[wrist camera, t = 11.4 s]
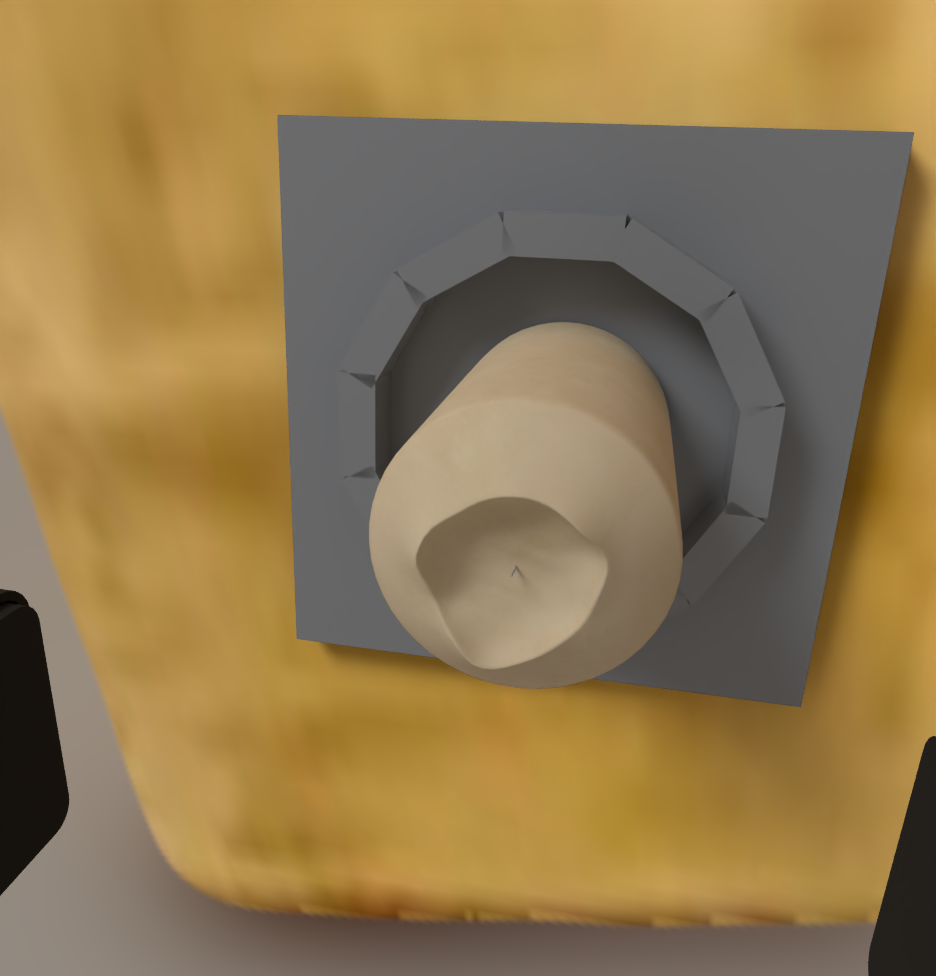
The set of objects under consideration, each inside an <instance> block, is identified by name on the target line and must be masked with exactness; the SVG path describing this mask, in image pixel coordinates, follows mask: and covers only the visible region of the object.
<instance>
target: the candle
mask: <svg viewBox="0 0 936 976" xmlns="http://www.w3.org/2000/svg"><path fill="white" fill-rule="evenodd" d="M369 546H370V554H371V561H372V565H373V569H374V573H375V576H376V579H377V582H378V584H379V587H380V589H381V592H382V594H383V596H384V598H385V600H386V602H387V603H388V605H389V607H390V609H391V611H392V612H393V614H394V615H395V616H396V618H397V619H398V621H399V622H400V623H401V625H402V626H403V627H404V628H405V629H406V630H407V632H408V633H409V634H410V635H411V636H412V637H413V638H414V639H415V640H416V641H417V642H418V643H419V644H420V645H422V646H423V647H424V648H425V649H426V650H427V651H428V652H430V653H431V654H433V655H434V656H435V657H437V658H438V659H440V660H441V661H443V662H444V663H446V664H448V665H449V666H451V667H453V668H455V669H457V670H459V671H461V672H463V673H465V674H468V675H470V676H473V677H475V678H478V679H480V680H483V681H487V682H491V683H494V684H498V685H503V686H510V687H516V688H534V689H541V688H554V687H561V686H567V685H572V684H577V683H580V682H583V681H586V680H589V679H592V678H595V677H597V676H599V675H601V674H604V673H606V672H608V671H610V670H612V669H614V668H615V667H617V666H618V665H620V664H621V663H623V662H625V661H626V660H628V659H629V658H630V657H631V656H633V655H634V654H635V653H636V652H637V651H638V650H640V649H641V648H642V647H643V646H644V645H645V644H646V643H647V642H648V640H649V639H650V638H651V637H652V636H653V635H654V634H655V632H656V631H657V629H658V628H659V627H660V625H661V624H662V622H663V621H664V619H665V618H666V616H667V614H668V611H669V609H670V607H671V605H672V603H673V601H674V598H675V595H676V592H677V589H678V585H679V582H680V576H681V570H682V563H683V541H682V530H681V521H680V511H679V502H678V492H677V483H676V473H675V463H674V454H673V444H672V435H671V426H670V418H669V412H668V406H667V402H666V399H665V395H664V392H663V389H662V387H661V385H660V382H659V380H658V378H657V377H656V375H655V373H654V372H653V370H652V368H651V367H650V366H649V364H648V363H647V362H646V361H645V359H644V358H643V357H642V356H641V355H640V354H639V353H638V352H637V351H636V350H635V349H634V348H633V347H631V346H630V345H629V344H627V343H626V342H624V341H623V340H622V339H620V338H619V337H617V336H615V335H613V334H611V333H609V332H607V331H605V330H602V329H599V328H596V327H594V326H589V325H585V324H580V323H570V322H554V323H546V324H540V325H536V326H532V327H529V328H526V329H523V330H521V331H519V332H517V333H515V334H513V335H511V336H509V337H507V338H506V339H504V340H503V341H501V342H500V343H498V344H497V345H496V346H495V347H494V348H493V349H491V350H490V351H489V352H488V353H487V354H486V355H485V356H484V357H483V358H482V359H481V360H480V361H479V362H478V363H477V364H476V365H475V367H474V368H473V369H472V370H471V371H470V372H469V373H468V374H467V375H466V377H465V378H464V379H463V380H462V381H461V382H460V383H459V384H458V385H457V387H456V388H455V389H454V390H453V391H452V392H451V393H450V394H449V395H448V396H447V398H446V399H445V400H444V401H443V402H442V403H441V404H440V405H439V406H438V408H437V409H436V410H435V411H434V412H433V413H432V414H431V415H430V416H429V418H428V419H427V420H426V421H425V422H424V423H423V424H422V425H421V426H420V428H419V429H418V430H417V431H416V432H415V433H414V434H413V435H412V436H411V438H410V439H409V440H408V441H407V442H406V443H405V444H404V445H403V447H402V448H401V449H400V450H399V451H398V452H397V453H396V455H395V456H394V458H393V459H392V461H391V462H390V464H389V465H388V467H387V468H386V470H385V472H384V474H383V476H382V478H381V481H380V483H379V485H378V487H377V490H376V494H375V497H374V500H373V503H372V509H371V515H370V521H369Z"/></svg>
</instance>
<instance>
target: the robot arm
mask: <svg viewBox="0 0 936 976" xmlns="http://www.w3.org/2000/svg"><path fill="white" fill-rule="evenodd" d="M68 807H69V793H68V787H67V782H66V775H65V770H64V763H63V757H62V751H61V746H60V740H59V734H58V728H57V722H56V716H55V710H54V704H53V698H52V692H51V686H50V680H49V674H48V669H47V663H46V657H45V652H44V645H43V639H42V633H41V627H40V621H39V618H38V614H37V613H36V611H35V610H34V609H33V608H31V607H29V605H28V602H27V600H26V599H25V598H24V596H23V595H22V594H20V593H18V592H16V591H11V590H4V589H0V895H1V894H2V893H3V892H4V891H5V890H6V889H7V887H8V886H9V885H10V884H11V883H12V882H13V881H14V880H15V879H16V878H17V876H18V875H19V874H20V873H21V872H22V871H23V870H24V869H25V868H26V866H27V865H28V864H29V863H30V862H31V861H32V860H33V859H34V858H35V856H36V855H37V854H38V853H39V852H40V851H41V849H43V848H44V846H45V845H46V844H47V843H48V842H49V841H50V840H51V839H52V838H53V836H54V835H55V834H56V833H57V832H58V830H59V829H60V828H61V826H62V824H63V822H64V820H65V817H66V815H67V812H68ZM868 971H869V972H868V973H869V976H936V736H933V737H930V738H929V739H928V741H927V742H926V744H925V747H924V749H923V753H922V757H921V760H920V764H919V768H918V771H917V775H916V779H915V782H914V786H913V790H912V794H911V797H910V801H909V805H908V808H907V812H906V816H905V819H904V823H903V827H902V831H901V834H900V838H899V842H898V845H897V849H896V853H895V856H894V860H893V864H892V868H891V871H890V875H889V879H888V882H887V886H886V890H885V893H884V897H883V901H882V905H881V908H880V912H879V916H878V919H877V923H876V927H875V931H874V934H873V938H872V942H871V946H870V951H869V961H868Z"/></svg>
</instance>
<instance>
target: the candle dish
mask: <svg viewBox="0 0 936 976" xmlns="http://www.w3.org/2000/svg"><path fill="white" fill-rule="evenodd" d="M913 135H914V132H884V131H847V130H810V129H774V128H737V127H700V126H663V125H626V124H589V123H553V122H516V121H479V120H442V119H405V118H368V117H331V116H295V115H278V142H279V169H280V196H281V224H282V251H283V278H284V305H285V332H286V359H287V386H288V413H289V440H290V467H291V494H292V521H293V548H294V575H295V602H296V629H297V639H301V640H309V641H316V642H323V643H331V644H338V645H346V646H353V647H360V648H368V649H375V650H382V651H390V652H397V653H405V654H412V655H419V656H427V657H434V658H437V657H435V656H434V655H433V654H431V653H430V652H428V651H427V650H426V649H425V648H424V647H423V646H422V645H420V644H419V643H418V642H417V641H416V640H415V639H414V638H413V637H412V636H411V635H410V634H409V633H408V632H407V630H406V629H405V628H404V627H403V626H402V625H401V623H400V622H399V621H398V619H397V618H396V616H395V615H394V614H393V612H392V611H391V609H390V607H389V605H388V603H387V602H386V600H385V598H384V596H383V594H382V592H381V589H380V587H379V584H378V582H377V579H376V576H375V573H374V569H373V565H372V561H371V554H370V546H369V521H370V515H371V509H372V503H373V500H374V497H375V494H376V490H377V487H378V485H379V483H380V481H381V478H382V476H383V474H384V472H385V470H386V468H387V467H388V465H389V464H390V462H391V461H392V459H393V458H394V456H395V455H396V453H397V452H398V451H399V450H400V449H401V448H402V447H403V445H404V444H405V443H406V442H407V441H408V440H409V439H410V438H411V436H412V435H413V434H414V433H415V432H416V431H417V430H418V429H419V428H420V426H421V425H422V424H423V423H424V422H425V421H426V420H427V419H428V418H429V416H430V415H431V414H432V413H433V412H434V411H435V410H436V409H437V408H438V406H439V405H440V404H441V403H442V402H443V401H444V400H445V399H446V398H447V396H448V395H449V394H450V393H451V392H452V391H453V390H454V389H455V388H456V387H457V385H458V384H459V383H460V382H461V381H462V380H463V379H464V378H465V377H466V375H467V374H468V373H469V372H470V371H471V370H472V369H473V368H474V367H475V365H476V364H477V363H478V362H479V361H480V360H481V359H482V358H483V357H484V356H485V355H486V354H487V353H488V352H489V351H490V350H491V349H493V348H494V347H495V346H496V345H497V344H498V343H500V342H501V341H503V340H504V339H506V338H507V337H509V336H511V335H513V334H515V333H517V332H519V331H521V330H523V329H526V328H529V327H532V326H536V325H540V324H546V323H554V322H570V323H580V324H585V325H589V326H594V327H596V328H599V329H602V330H605V331H607V332H609V333H611V334H613V335H615V336H617V337H619V338H620V339H622V340H623V341H624V342H626V343H627V344H629V345H630V346H631V347H633V348H634V349H635V350H636V351H637V352H638V353H639V354H640V355H641V356H642V357H643V358H644V359H645V361H646V362H647V363H648V364H649V366H650V367H651V368H652V370H653V372H654V373H655V375H656V377H657V378H658V380H659V382H660V385H661V387H662V389H663V392H664V395H665V399H666V402H667V406H668V412H669V418H670V426H671V435H672V444H673V454H674V463H675V473H676V483H677V492H678V502H679V511H680V521H681V530H682V541H683V563H682V570H681V576H680V582H679V585H678V589H677V592H676V595H675V598H674V601H673V603H672V605H671V607H670V609H669V611H668V614H667V616H666V618H665V619H664V621H663V622H662V624H661V625H660V627H659V628H658V629H657V631H656V632H655V634H654V635H653V636H652V637H651V638H650V639H649V640H648V642H647V643H646V644H645V645H644V646H643V647H642V648H641V649H640V650H638V651H637V652H636V653H635V654H634V655H633V656H631V657H630V658H629V659H628V660H626V661H625V662H623V663H621V664H620V665H618V666H617V667H615V668H614V669H612V670H610V671H608V672H606V673H604V674H601V675H599V676H597V677H595V678H592V679H597V680H604V681H612V682H619V683H626V684H634V685H641V686H649V687H656V688H663V689H671V690H678V691H686V692H693V693H700V694H708V695H715V696H723V697H730V698H737V699H745V700H752V701H760V702H767V703H774V704H782V705H789V706H797V707H801V704H802V699H803V694H804V689H805V684H806V678H807V673H808V668H809V663H810V658H811V653H812V648H813V643H814V638H815V633H816V628H817V623H818V618H819V613H820V607H821V602H822V597H823V592H824V587H825V582H826V577H827V572H828V567H829V562H830V557H831V552H832V547H833V541H834V536H835V531H836V526H837V521H838V516H839V511H840V506H841V501H842V496H843V491H844V486H845V481H846V475H847V470H848V465H849V460H850V455H851V450H852V445H853V440H854V435H855V430H856V425H857V420H858V415H859V410H860V404H861V399H862V394H863V389H864V384H865V379H866V374H867V369H868V364H869V359H870V354H871V349H872V344H873V338H874V333H875V328H876V323H877V318H878V313H879V308H880V303H881V298H882V293H883V288H884V283H885V278H886V272H887V267H888V262H889V257H890V252H891V247H892V242H893V237H894V232H895V227H896V222H897V217H898V212H899V207H900V201H901V196H902V191H903V186H904V181H905V176H906V171H907V166H908V161H909V156H910V151H911V146H912V141H913Z"/></svg>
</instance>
